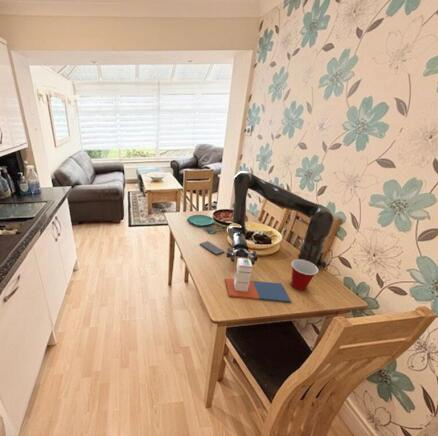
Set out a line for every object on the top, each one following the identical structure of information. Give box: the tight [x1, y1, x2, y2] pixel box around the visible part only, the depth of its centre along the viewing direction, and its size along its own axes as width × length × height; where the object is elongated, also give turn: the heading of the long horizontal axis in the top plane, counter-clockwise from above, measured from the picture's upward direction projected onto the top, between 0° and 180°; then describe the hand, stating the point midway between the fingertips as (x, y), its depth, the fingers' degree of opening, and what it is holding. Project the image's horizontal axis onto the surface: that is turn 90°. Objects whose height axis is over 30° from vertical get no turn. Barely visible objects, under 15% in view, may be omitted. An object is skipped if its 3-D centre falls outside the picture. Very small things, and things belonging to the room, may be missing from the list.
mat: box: [224, 278, 292, 304], centre depth 112 cm, size 26×12×1 cm, turn 81°
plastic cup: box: [290, 258, 319, 291], centre depth 112 cm, size 11×11×12 cm
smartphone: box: [199, 240, 225, 256], centre depth 147 cm, size 7×1×15 cm
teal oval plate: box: [186, 214, 227, 234], centre depth 178 cm, size 20×30×2 cm, turn 22°
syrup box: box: [234, 257, 253, 292], centre depth 110 cm, size 6×6×14 cm
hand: (243, 262), depth 113 cm, fingers open, 8 cm apart
